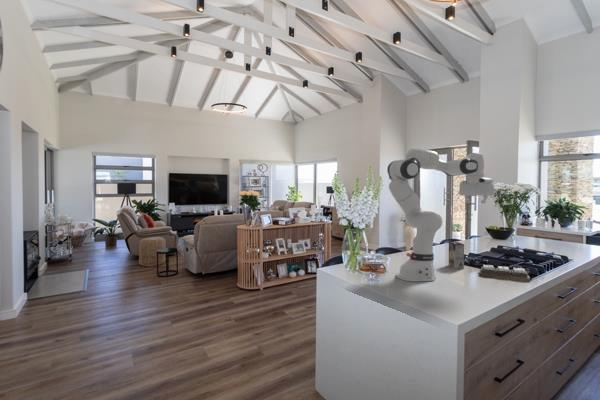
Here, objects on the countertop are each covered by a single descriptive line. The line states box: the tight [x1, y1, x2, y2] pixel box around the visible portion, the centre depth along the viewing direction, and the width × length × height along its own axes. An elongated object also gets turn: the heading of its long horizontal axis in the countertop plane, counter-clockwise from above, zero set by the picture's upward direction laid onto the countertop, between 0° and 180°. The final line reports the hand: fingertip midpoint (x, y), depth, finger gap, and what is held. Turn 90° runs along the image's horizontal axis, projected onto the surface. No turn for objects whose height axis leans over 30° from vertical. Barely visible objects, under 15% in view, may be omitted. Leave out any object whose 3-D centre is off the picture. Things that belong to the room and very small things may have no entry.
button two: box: [512, 267, 526, 273], centre depth 174 cm, size 5×5×2 cm
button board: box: [479, 266, 531, 283], centre depth 178 cm, size 10×24×4 cm, turn 59°
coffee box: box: [448, 241, 465, 269], centre depth 202 cm, size 9×6×16 cm
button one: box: [497, 265, 509, 272], centre depth 178 cm, size 5×5×2 cm
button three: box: [482, 264, 495, 270], centre depth 182 cm, size 5×5×2 cm
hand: (475, 203), depth 183 cm, fingers open, 8 cm apart
